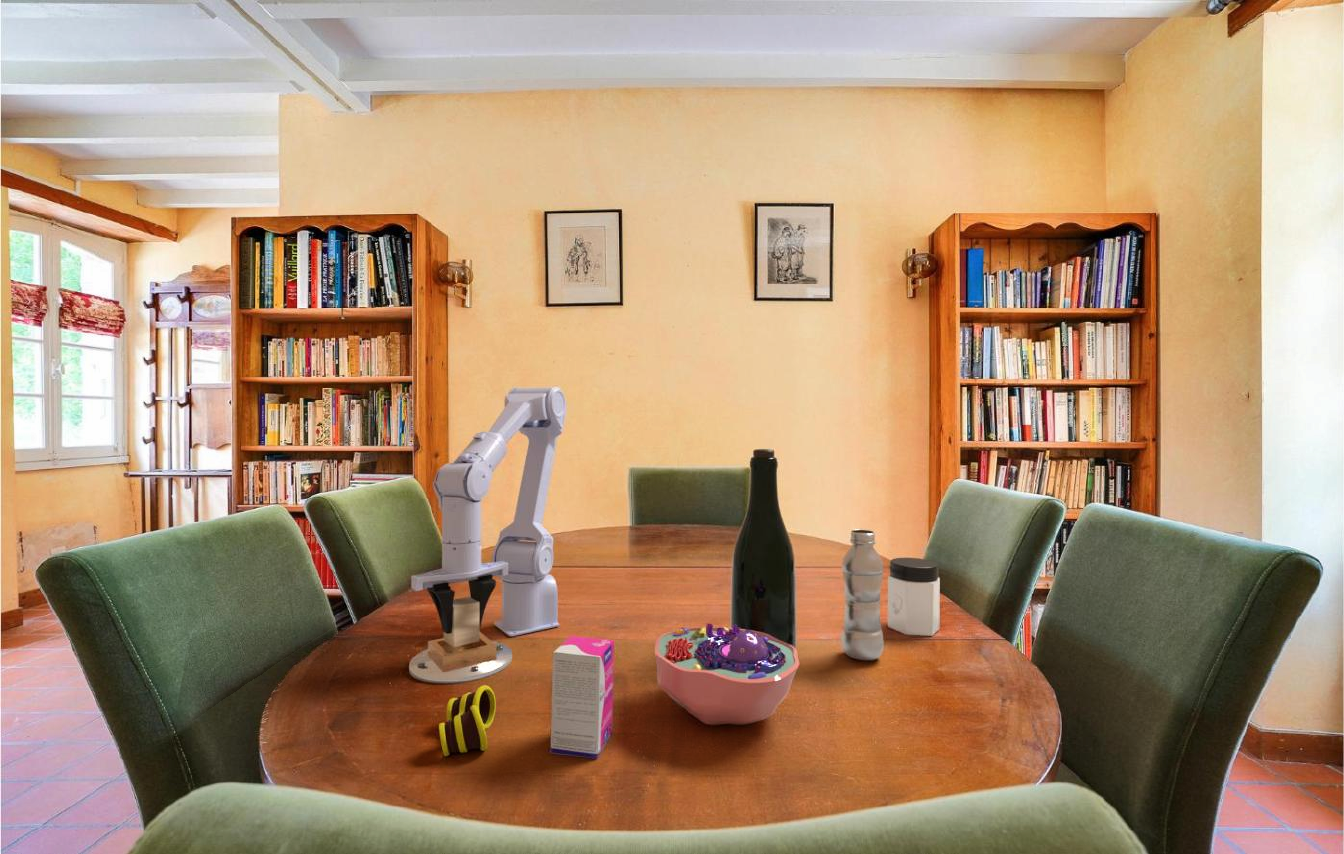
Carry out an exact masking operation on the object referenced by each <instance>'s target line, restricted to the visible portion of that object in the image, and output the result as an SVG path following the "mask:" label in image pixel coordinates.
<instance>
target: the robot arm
mask: <svg viewBox="0 0 1344 854" xmlns="http://www.w3.org/2000/svg"><path fill="white" fill-rule="evenodd" d="M567 410H568V404H567V401H566V396H565V394H564V392H563V391H562V389H561V388H560V387H559V386H552V387H519V386H518V387H516V386H515V387H512V388H511V389H510V390H509V391H508V394H506V395H505V396H504V408H503V410H502V411H501V413H500V415H499V416H498V417H497V418H496V420H495V421H494V423H493V424H492V425H491V427H490V429H489V430H487V431H481V432H476V433H475V434H474V436H473V437H472V438H473V439H472V440H471V441H470V442H469V444H468V445H467V446H466V447H465V448H464V449H463V450H462V452H460V453H459V455H458V456H457V457H456V459H455V460H454V461H453V462H448V463H445V464H444V465H443V466H441V467H440V468H439V469H438V470H437V472H436V475H435V478H434V481H433V482H432V487H433V491H434V494H435V495H436V497H437V501H438V508H439V511H441V517H442V518H441V526H442V527H441V552H442V553H441V559H442V561H441V566H442V567H441V568H439V569H435V570H431V571H427V572H424V573H419V574H414V575H413V574H412V575H410V577H411V581H410V582H411V583H410V584H411V585H410V586H411V589H412V591H414V592H419V591H423V590H424V589H426V590H427V592H428V594H429V596H430V597H431V599H432V602H433V603H434V606H435V608H436V611H437V614H438V617H439V621H440V625H441V631H442V632H443V633H444V632H445V633H446V634H450V633H452V608H453V600H454V598H455V595H456V594H455V593H456V591H454V590H453V589H451V587H452V586H450V585H451V584H458V583H462V582H463V583H465V582H468V589H469V597H470V598H472V599H474V600H476V601H478V602H479V628H480V627H481V626H482V622H483V618H484V613H485V611H486V607H487V604H488V602H489V600H490V597H491V596H492V593H493V591H494V590H495V588H496V586H497V585H496V584H497V580H496V579H493V577H498V580H501V583H502V584H501V589H502V590H501V594H502V595H501V602H502V603H501V615H502V616H501V620H498V621H494V623H493V624H494V626H496V627H497V628H498V630H501V631H502V632H503V633H504V634H505V635H507V636H508V637H514V636H520V635H526V634H528V633H529V634H530V633H534V632H537V631H544V630H548V629H551V628H556V627H560V623H559V622H558V619H559V618H558V611H559V610H558V608H559V607H558V605H559V604H558V603H559V602H558V594H559V593H558V586H557V582H556V581H557V580H556V579H555V577H554V576H553V575H552V574H549V573H550V572H551V570H552V567H553V565H554V549H553V547H554V537H553V536H552V535H551V533H550V532H549V531H548V530H547V529H546V528H545V527H544V526H543V522H544V516H545V511H546V505H547V501H548V500H547V499H548V494H549V488H550V484H551V477H552V471H553V465H554V462H555V461H554V459H555V454H556V448H557V444H558V443H557V442H558V438H559V436H560V435H562V434H563V431H564V426H565V423H566V422H565V421H566V416H567ZM517 432H519V433H520V434H522V435H524V436H525V437H527V439H528V446H527V451H526V457H525V461H524V465H523V471H522V475H521V476H522V477H521V482H520V486H519V491H518V496H517V497H518V498H517V501H516V507H515V513H514V517H513V522H512V523H510V524H509V525H507V526H506V527H504V528H503V529H502V530H500V532H499V536H498V539H497V542H496V544H495V545H494V548H493V550H492V554H491V558H490V559H491V562H482V500H483V499H484V498H485V497H486V496H487V495H488V493H489V489H490V485H491V480H492V479H493V475H494V474H493V473H494V471H495V470H496V469H497V468H498V466H499V465H500V463H501V462H503V461H502V460H503V459H504V458H505V457H506V455H507V453H508V448H507V443H508V442H509V441H511V439H512V438H513V437H514V436H515V435H516V434H517Z"/></svg>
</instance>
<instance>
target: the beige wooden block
mask: <svg viewBox="0 0 1344 854" xmlns="http://www.w3.org/2000/svg"><path fill="white" fill-rule="evenodd" d="M479 631H480V627H479V602H478V601H476V600H474V599H472V598H471V596H465V597H460V598H455V599H454V600H453V608H452V633H450V634H446V633H445V632H443V638H444V641H445V642H447V643H448V644H450V645H451V646H453V647H457V646H461V645H465V644H469V643H473V642H477V641H479Z"/></svg>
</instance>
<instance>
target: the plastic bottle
mask: <svg viewBox="0 0 1344 854" xmlns="http://www.w3.org/2000/svg"><path fill="white" fill-rule="evenodd" d="M849 541H850V543H851V547H850V548H849V549H848V551H847V552H846V553H845V555H844V557H843V559H842V561H841V570H842V576H843V577H842V578H843V583H844V585H843V586H844V597H845V603H844V604H845V607H844V618H843V619H844V620H843V625H842V629H841V631H842V632H841V637H840V641H841V646H842V650H843V651H844V654H846V655H847V656H848V657H850V658H851V659H855V660H860V661H874V660H877V659H878V658H880V656H881V655H882V654H883V650H884V645H885V643H884V642H885V641H884V635H883V629H882V624H881V623H882V622H881V620H882V619H881V609H880V607H881V606H880V605H881V602H880V601H881V590H882V589H881V588H882V583H883V578H884V577H883V575H884V574H883V573H884V568H885V567H884V563H883V560H882V558H881V556H880V555H879V553H878V552H877V550H876V549H875V547H874V545H876V539H875V531H874V530H870V529H851V531H850V539H849Z"/></svg>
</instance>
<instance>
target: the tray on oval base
mask: <svg viewBox="0 0 1344 854" xmlns="http://www.w3.org/2000/svg"><path fill="white" fill-rule="evenodd" d="M512 660H513V650H512V649H511V647H509V646H508V645H507V644H505V643H502V642H497V641H493V640H490V638H488V637H487V636H486V635H485V634H483V633H482V632H481V631H480V630H479V641H477V642H473V643H469V644H465V645H461V646H457V647H453V646H451V645H450V644H448V643H447V642H445V641H444V637H443V638H438V639H433V640H428V641H427V649H425V650H422V651H420V652H419V653H417V654H416V655H415V656H413V657H412V658H411V660H410V661H409V664H408V671H409V674H410V676H411V677H413V678H414V679H416V680H418V681H422V682H424V683H431V684H443V685H446V684H448V685H449V684H460V683H468V682H473V681H476V680H481V679H484V678H487V677H488V678H489V677H490V676H493V675H495V674H497V673H499V672H501V671H503V670H504V669H506V668H507V667H508V666H509V665H510V664H511V662H512Z"/></svg>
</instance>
